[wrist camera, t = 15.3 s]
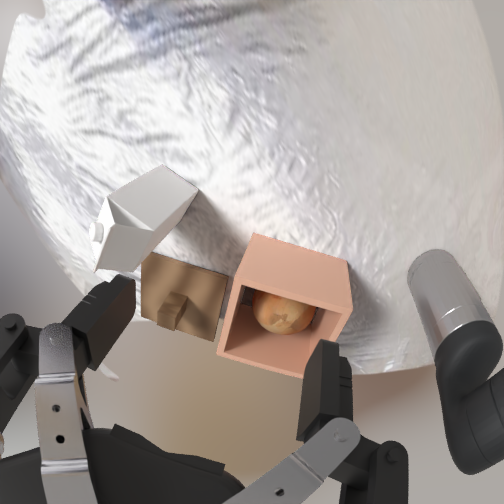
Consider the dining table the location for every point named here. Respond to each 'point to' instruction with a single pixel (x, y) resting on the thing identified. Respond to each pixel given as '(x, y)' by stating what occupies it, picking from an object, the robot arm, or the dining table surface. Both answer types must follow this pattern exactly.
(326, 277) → the tan open box
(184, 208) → the milk carton
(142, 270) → the lid
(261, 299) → the onion
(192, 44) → the dining table surface
